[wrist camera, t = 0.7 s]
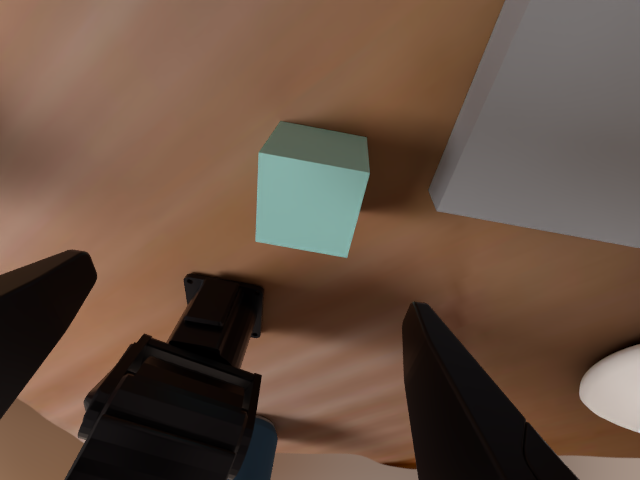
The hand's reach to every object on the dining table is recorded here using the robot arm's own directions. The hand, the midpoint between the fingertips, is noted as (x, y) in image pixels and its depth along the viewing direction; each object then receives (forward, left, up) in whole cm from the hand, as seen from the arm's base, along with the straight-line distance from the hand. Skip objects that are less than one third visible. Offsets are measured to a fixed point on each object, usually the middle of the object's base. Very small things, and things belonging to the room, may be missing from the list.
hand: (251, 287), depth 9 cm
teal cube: (-1, -1, -12) cm, 12 cm away
